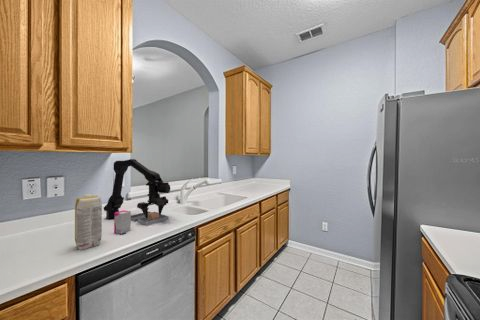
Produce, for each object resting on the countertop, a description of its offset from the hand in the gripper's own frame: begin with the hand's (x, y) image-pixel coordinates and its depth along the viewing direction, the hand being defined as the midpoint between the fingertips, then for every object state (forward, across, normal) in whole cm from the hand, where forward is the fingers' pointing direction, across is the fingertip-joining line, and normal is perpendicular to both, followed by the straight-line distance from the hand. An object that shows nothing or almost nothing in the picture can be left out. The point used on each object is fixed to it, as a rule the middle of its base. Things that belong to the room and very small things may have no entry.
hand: (153, 216), depth 124 cm
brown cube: (+3, 0, 0) cm, 3 cm away
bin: (+3, 0, +13) cm, 13 cm away
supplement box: (+4, -20, -2) cm, 20 cm away
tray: (+3, 0, 0) cm, 3 cm away
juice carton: (+4, -37, -6) cm, 38 cm away
